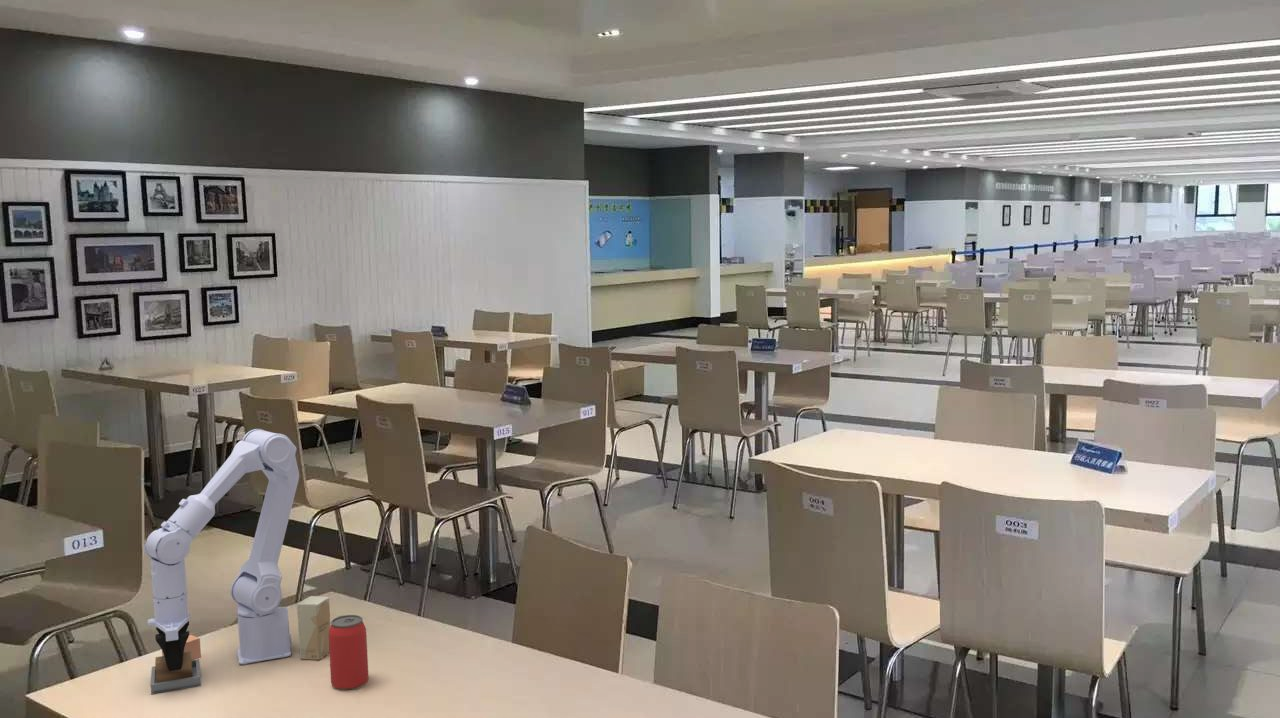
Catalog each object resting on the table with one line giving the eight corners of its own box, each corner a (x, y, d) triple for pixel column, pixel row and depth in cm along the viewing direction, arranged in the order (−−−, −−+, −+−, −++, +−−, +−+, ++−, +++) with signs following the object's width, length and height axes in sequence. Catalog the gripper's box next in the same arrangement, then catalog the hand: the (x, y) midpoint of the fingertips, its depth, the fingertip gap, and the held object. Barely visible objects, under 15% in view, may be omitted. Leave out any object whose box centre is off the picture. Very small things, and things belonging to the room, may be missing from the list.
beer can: (375, 678, 190) (372, 615, 189) (354, 693, 184) (351, 628, 183) (345, 674, 193) (342, 612, 191) (323, 688, 186) (320, 624, 185)
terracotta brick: (192, 654, 204) (190, 634, 204) (201, 657, 202) (199, 638, 202) (162, 664, 199) (161, 644, 199) (171, 668, 197) (170, 648, 197)
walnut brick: (192, 671, 194) (190, 651, 193) (192, 678, 191) (191, 657, 190) (157, 678, 191) (155, 657, 191) (156, 684, 189) (155, 663, 188)
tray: (199, 667, 197) (199, 658, 197) (200, 685, 189) (200, 676, 189) (152, 675, 194) (151, 666, 194) (151, 694, 185) (150, 685, 185)
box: (319, 660, 199) (316, 605, 198) (299, 659, 200) (295, 604, 199) (332, 650, 204) (329, 595, 203) (312, 649, 205) (309, 594, 204)
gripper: (147, 585, 194) (152, 655, 196) (144, 609, 181) (150, 684, 183) (187, 580, 197) (192, 648, 199) (188, 603, 184) (193, 676, 186)
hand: (175, 665), depth 191 cm, fingers open, 4 cm apart
